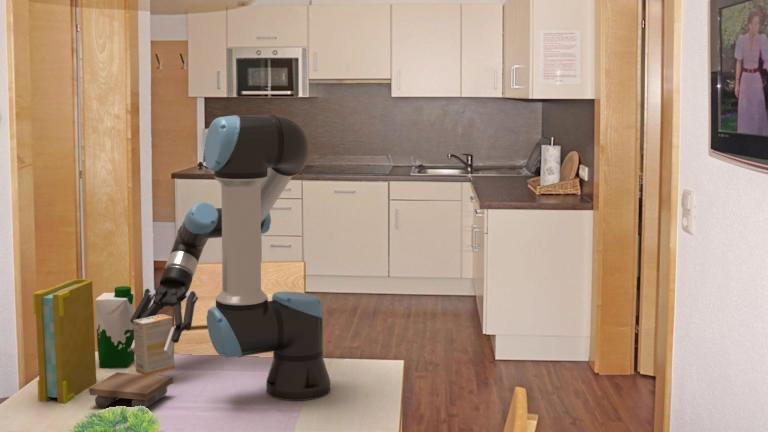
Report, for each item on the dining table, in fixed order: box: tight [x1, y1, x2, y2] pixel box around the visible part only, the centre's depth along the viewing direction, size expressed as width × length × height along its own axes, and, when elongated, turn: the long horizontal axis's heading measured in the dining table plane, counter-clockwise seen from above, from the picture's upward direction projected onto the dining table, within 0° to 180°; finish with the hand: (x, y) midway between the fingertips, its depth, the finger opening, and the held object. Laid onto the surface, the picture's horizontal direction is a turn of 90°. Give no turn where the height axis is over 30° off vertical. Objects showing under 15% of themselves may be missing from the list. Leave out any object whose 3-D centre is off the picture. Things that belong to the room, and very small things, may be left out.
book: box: [32, 278, 97, 404], centre depth 216 cm, size 17×7×25 cm, turn 168°
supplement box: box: [133, 313, 175, 375], centre depth 224 cm, size 8×5×13 cm, turn 135°
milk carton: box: [94, 285, 135, 369], centre depth 237 cm, size 9×9×20 cm
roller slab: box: [88, 372, 173, 409], centre depth 210 cm, size 14×12×4 cm
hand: (150, 351), depth 222 cm, fingers closed on supplement box, 8 cm apart
